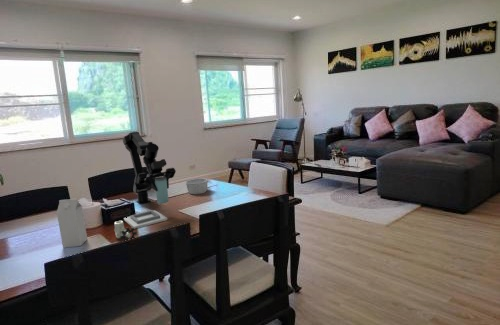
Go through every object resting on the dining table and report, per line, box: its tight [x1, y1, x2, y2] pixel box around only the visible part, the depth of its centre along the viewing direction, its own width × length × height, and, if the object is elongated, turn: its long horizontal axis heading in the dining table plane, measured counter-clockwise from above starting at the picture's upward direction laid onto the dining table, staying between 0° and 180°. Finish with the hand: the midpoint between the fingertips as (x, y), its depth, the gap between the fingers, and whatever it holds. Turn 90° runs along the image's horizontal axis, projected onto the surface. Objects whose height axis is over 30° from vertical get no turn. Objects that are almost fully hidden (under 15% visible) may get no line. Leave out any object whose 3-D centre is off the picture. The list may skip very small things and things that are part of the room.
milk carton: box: [56, 198, 88, 249], centre depth 143 cm, size 7×7×19 cm
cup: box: [154, 176, 169, 205], centre depth 172 cm, size 6×6×12 cm
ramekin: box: [185, 178, 208, 195], centre depth 213 cm, size 13×13×7 cm
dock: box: [123, 210, 168, 230], centre depth 168 cm, size 16×16×2 cm
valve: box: [113, 220, 138, 242], centre depth 146 cm, size 7×7×12 cm
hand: (162, 189), depth 170 cm, fingers closed on cup, 5 cm apart
